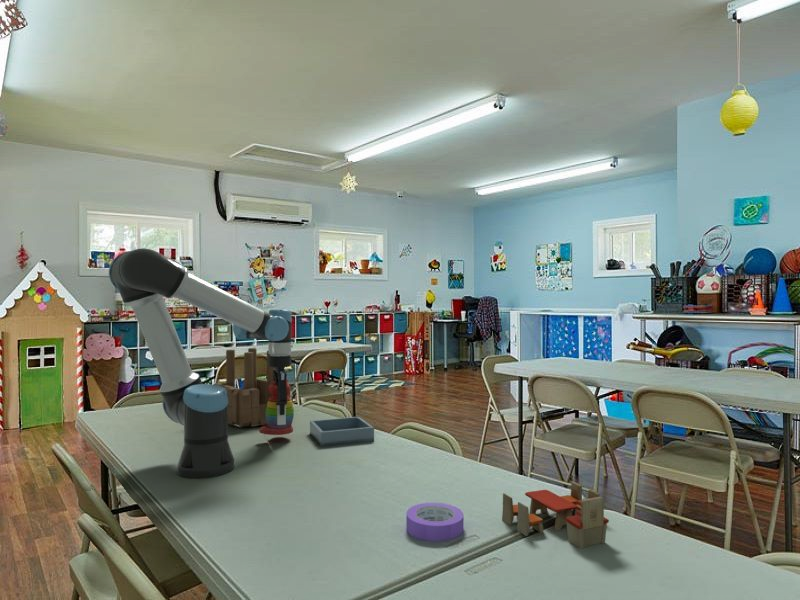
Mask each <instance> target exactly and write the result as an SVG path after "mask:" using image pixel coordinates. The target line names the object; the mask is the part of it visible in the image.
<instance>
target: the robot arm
mask: <svg viewBox="0 0 800 600" xmlns="http://www.w3.org/2000/svg"><path fill="white" fill-rule="evenodd" d="M108 278H109V281H110V282H111V284H112V285H113V286H114V288H116V289H117V290H118V292H119V295H120V297H121V300H122V302H123V304H124V305H127V306H128V307H131V309H132V311H133V313H134V315H135V319H136V321H137V323H138V325H139V328H140V330H141V332H142V335H143V338H144V340H145V342H146V343H145V344H146V345H147V347H148V350H149V352H150V355H151V357H152V360H153V361H154V366H156V369H157V372H158V375H159V376H160V379H161V382H162V384H161V385H160V388H159V392H160V395H161V397H162V409H163V411H164V414H165V415H166V416H167V417H168V418H169V419H170V420H171V421H173V422H175V423H176V424H180V425H182V426H183V447H182V450H181V453H180V457H179V460H178V463H177V475H178V476H180V477H182V478H186V479H204V478H205V479H207V478H213V477H219V476H222V475H225V474H227V473H230V472H232V471H233V470H234V469H235V458H234V454H233V451H232V449H231V446H230V443H229V440H228V439H229V438H228V437H229V436H228V431H229V428H228V427H229V426H228V425H229V424H228V397H227V391H226V389H225V388H223V387H221V386H219V385H213V384H211V383H203V381H202V378H201V376H200V374H199V373H198V372H194V371H192V368H191V366H190V363H189V360H188V358H187V357H188V356H187V355H186V353H185V350H184V347H183V345H182V342H181V340H180V337H179V335H178V332H177V329H176V327H175V324H174V322H173V320H172V317H171V314H170V311H169V310H168V307H167V306H168V305H166V302H165V300H164V297H165V298H167V299H171V298H175V299H178V300H181V301H183V302H185V303H186V304H188V305H191V306H194V307H195V308H198V309H199V310H201V311H204V312H206V313H209V314H210V315H212V316H216V317H217V318H219V319H222V320H224V321H226V322H228V323H230V324H232V330H233V331H232V333H233V334H234V336H235V337H236V339H239V340H241V339H243V340H249V339H250V340H251V339H254V340H263V341H264V340H265V341H268V345H267V346H268V349H267V351H268V353H269V354H270V356H269V357H268V365H269V367H275V369H274V370H273V381H274V380H275V385H276V386H277V392H278V403H276V405H277V425H286V404H287V383H286V379H287V376H288V374H287V372H286V371H285V369H286V368H289V367H291V366H292V356H291V353H292V348H293V347H294V346H293V344H292V328H293V327H292V325H293V322H292V321H293V320H292V311H291V310H289V309H282V308H281V309H276V308H275V309H270V310H269V311H268V312H267V311H264V310H262V309H261V308H258V307H257V306H255V305H254V304H251V303H249V302H247V301H245V300H242V298H239V297H237V296H235V295H234V294H231V293H230V292H227V291H225V290H223V289H221V288H220V287H217V286H215V285H213V284H212V283H209V282H208V281H205V280H204V279H201V278H199V277H198V276H195V275H194V274H192V273H190V272H188V269H187V267H186V266H184V265H182V264H180V263H178V262H177V261H174V260H173V259H171V258H169V257H168V256H165V255H164V254H161V252H158V251H156V250H154V249H150V248H136V249H133V250H129V251H127V250H126V251H124V252H122V253H120V254H118V255H117V256H116V257H115V258H113V260H112V261H111V263H110V265H109V268H108Z"/></svg>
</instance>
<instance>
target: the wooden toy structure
mask: <svg viewBox="0 0 800 600" xmlns="http://www.w3.org/2000/svg"><path fill="white" fill-rule="evenodd" d="M235 351H236V350H235V349H226V352H225V369H226V370H225V371H226V372H225V373H226V374H225V375H226V377H225V378H226V381H220V382H216V383H215V382H214V383H213V384H212V385H219V386H221V387H223V388H225V389H226V391H227V397H228V425H231V426H234V425H237V426H239V427H241V428H242V427H248V426H251V427H254V426H267V422H266V413H265V412H266V407H267V403H268V401H269V398H270V397H271V396H272V395H271V394H270V392H269V386H270V385H271V383H272V382H273V370H274V369H275V367H269V365H268V357H269V356H270V354H269V353H268V350H266V379H263V378H258V374H257V373H258V371H257V370H258V368H257V363H258V362H257V359H258V357H257V355H258V354H257V348H256V347H249V348H247V351H246V352H244V353H243V359H244V360H243V361H244V362H243V366H244V367H243V369H244V370H243V371H244V373H243V374H244V376H243V377H244V379H243V380H242V388H239V387H236V356H235V355H236V352H235ZM288 396H289V397H290V398H291V388H290V391H289V394H288ZM291 399H292V398H291Z"/></svg>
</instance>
